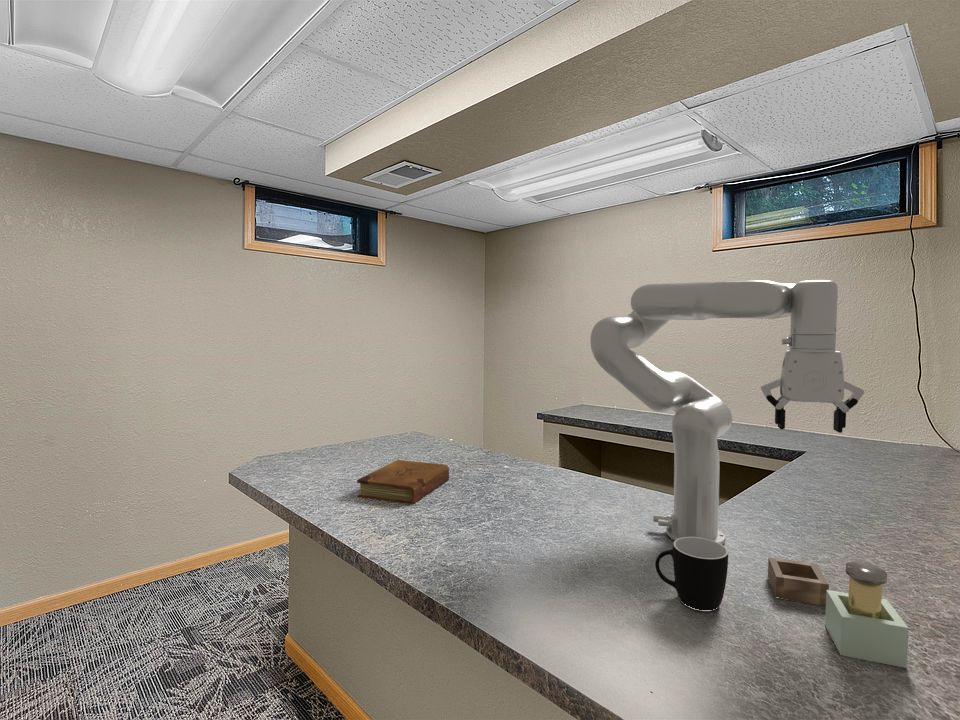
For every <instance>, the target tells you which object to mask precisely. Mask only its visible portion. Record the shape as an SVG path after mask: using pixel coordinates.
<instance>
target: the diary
mask: <svg viewBox="0 0 960 720" xmlns="http://www.w3.org/2000/svg"><path fill="white" fill-rule="evenodd" d="M449 480H450V468H449V466H448V465H447V464H442V463H432V462H421V461H415V460H414V461H412V460H402V459H397V460H396V459H395V460H394V461H393V462H391V463H388V464H386V465H385V466H382V467H380V468H378V469H376V470H375V471H372V472H370V473H368V474H366V475H364V476H362V477H360V478H358V479H357V480H356V482H357V483H356V484H360V485H359V486H360V493H359V494H358V495H357V498H360V497H362V498H361V499H367V498H370V499H369V500H374V499H377V500H376V501H381V500H384V501H383V502H389V501H391V502H390V503H396V502H399V504H403V503H407V504H406V505H410V504H414V505H415V504H416V502H417V503H418V502H419V501H421V500H422V499H424V498H426V495H427V496H429V494H431V493H432V492H433V491H435V490H437V489H438V488H439V486H440V487H441V486H443V485H444V484H445V483H447V482H449ZM436 488H437V489H436ZM423 497H424V498H423Z"/></svg>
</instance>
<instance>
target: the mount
mask: <svg viewBox="0 0 960 720" xmlns="http://www.w3.org/2000/svg"><path fill="white" fill-rule="evenodd" d="M768 578H769V579H768ZM767 579H768V581H769V580H770V582H769V584H770V583H771V584H770V586H772V587H771V589H773V590H772V592H773V594H775V595H774V598H775V597H779V598H783V599H782V600H785V599H788V600H787V601H791V600H793V601H792V602H797V601H798V603H804V604H811V605H816V606H821V607H826V590H830V589H829V588H830V584H829V582H828V581H827V579H826V577H825V576H824V574H823V572H822V571H821V569H820V567H819V565H818V563H812V562H811V563H810V562H804V561H798V560H792V559H791V560H790V559H784V558H776V557H771V556H768V561H767ZM779 598H778V599H779Z"/></svg>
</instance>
